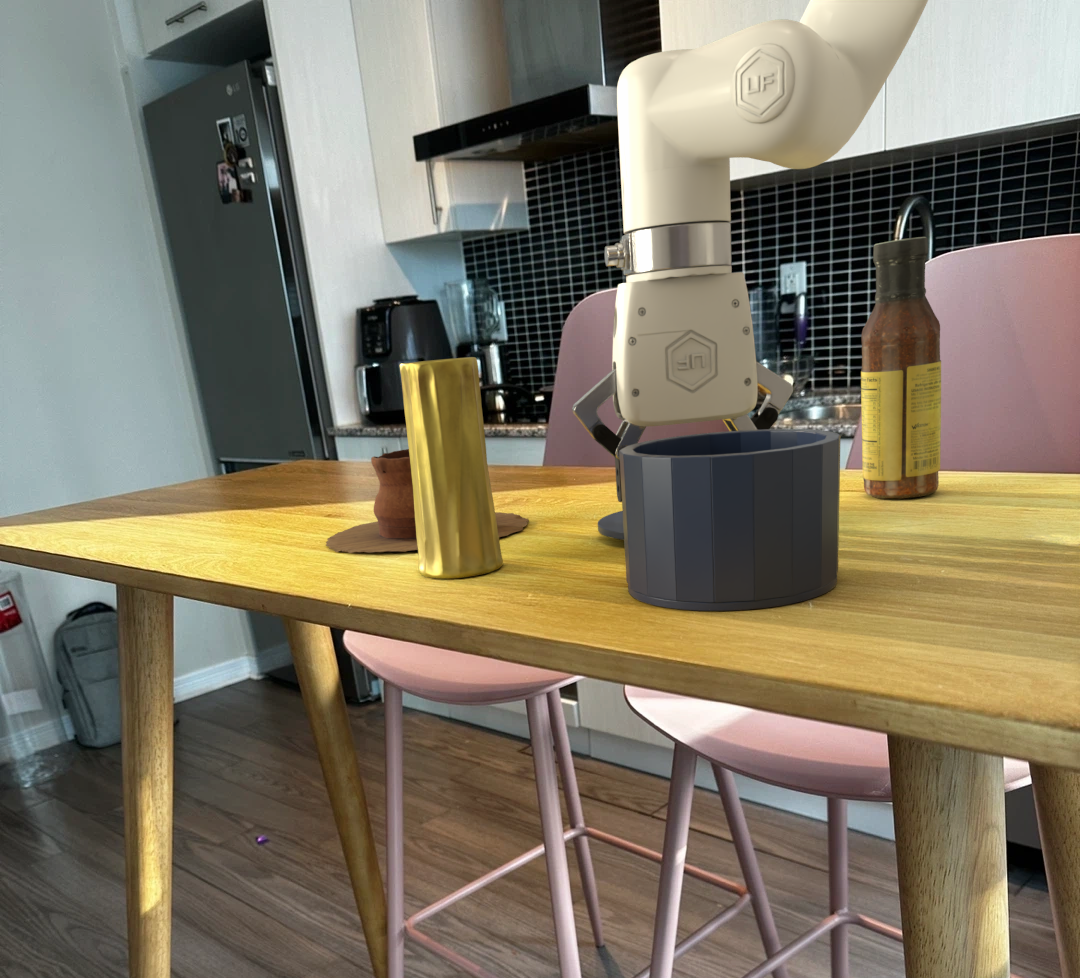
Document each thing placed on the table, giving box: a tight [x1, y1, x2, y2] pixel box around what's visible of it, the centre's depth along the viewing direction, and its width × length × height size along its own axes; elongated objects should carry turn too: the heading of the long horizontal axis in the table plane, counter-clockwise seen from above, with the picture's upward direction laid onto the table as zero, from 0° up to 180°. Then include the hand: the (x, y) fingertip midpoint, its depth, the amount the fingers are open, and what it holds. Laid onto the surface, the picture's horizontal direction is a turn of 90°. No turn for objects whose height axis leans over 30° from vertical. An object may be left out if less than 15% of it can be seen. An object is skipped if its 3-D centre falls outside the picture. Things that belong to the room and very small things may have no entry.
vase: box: [399, 356, 504, 580], centre depth 71 cm, size 6×6×14 cm
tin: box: [619, 428, 841, 612], centre depth 62 cm, size 13×13×8 cm
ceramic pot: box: [325, 448, 530, 554], centre depth 88 cm, size 18×18×7 cm
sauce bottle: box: [860, 236, 942, 500], centre depth 84 cm, size 6×6×20 cm
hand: (686, 503), depth 79 cm, fingers open, 8 cm apart
